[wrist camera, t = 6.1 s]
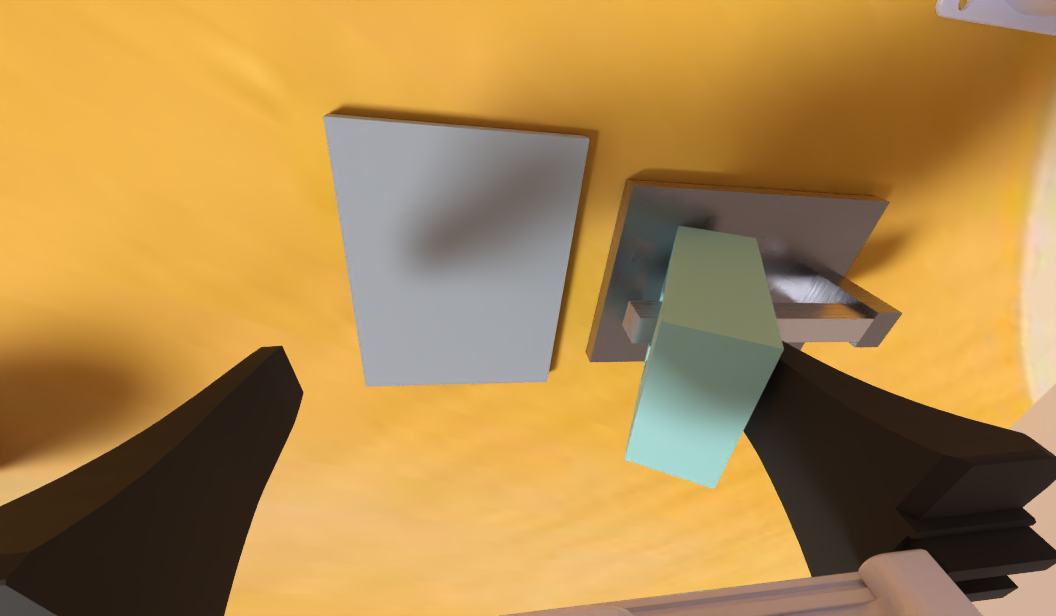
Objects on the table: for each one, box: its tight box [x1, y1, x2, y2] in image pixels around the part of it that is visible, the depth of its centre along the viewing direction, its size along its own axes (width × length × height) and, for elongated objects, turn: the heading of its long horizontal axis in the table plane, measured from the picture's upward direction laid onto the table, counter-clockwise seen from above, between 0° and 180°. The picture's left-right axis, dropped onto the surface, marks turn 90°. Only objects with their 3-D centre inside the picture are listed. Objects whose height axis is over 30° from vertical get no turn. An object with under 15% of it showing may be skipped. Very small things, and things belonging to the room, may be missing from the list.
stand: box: [586, 179, 902, 362], centre depth 18 cm, size 12×9×4 cm
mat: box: [323, 113, 590, 386], centre depth 17 cm, size 9×12×1 cm
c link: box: [624, 226, 784, 489], centre depth 15 cm, size 3×6×8 cm, turn 178°
